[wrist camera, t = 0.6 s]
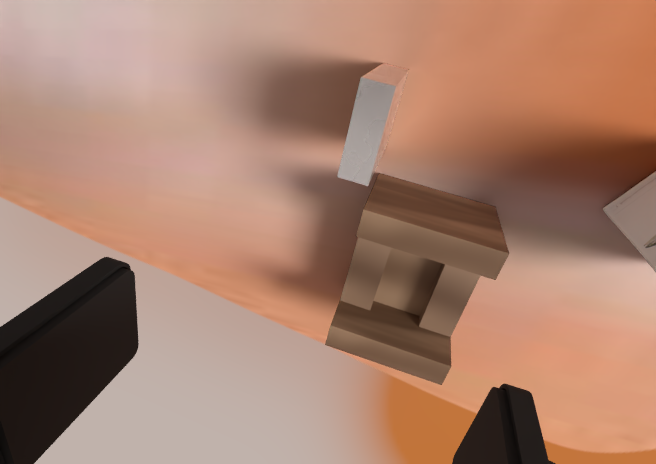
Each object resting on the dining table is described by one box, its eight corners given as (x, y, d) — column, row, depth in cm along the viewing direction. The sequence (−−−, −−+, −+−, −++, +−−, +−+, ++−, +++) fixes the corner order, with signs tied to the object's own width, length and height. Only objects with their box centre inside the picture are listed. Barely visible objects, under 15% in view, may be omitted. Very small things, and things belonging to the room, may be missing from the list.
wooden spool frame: (379, 173, 35) (363, 209, 28) (495, 206, 34) (509, 253, 27) (344, 291, 41) (325, 344, 34) (441, 323, 40) (441, 385, 33)
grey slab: (383, 62, 31) (360, 77, 22) (409, 69, 31) (396, 86, 22) (364, 138, 34) (337, 177, 25) (387, 145, 34) (368, 186, 25)
